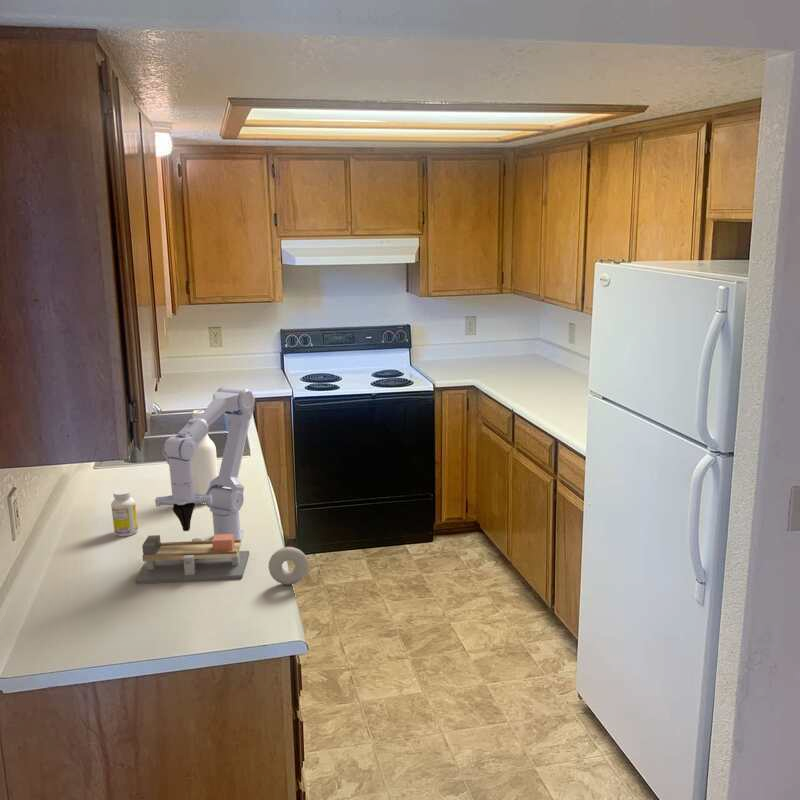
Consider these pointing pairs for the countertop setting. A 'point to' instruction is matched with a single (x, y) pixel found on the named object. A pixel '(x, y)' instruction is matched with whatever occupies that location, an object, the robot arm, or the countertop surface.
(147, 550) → the beam
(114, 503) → the supplement bottle
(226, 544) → the block
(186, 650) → the countertop surface
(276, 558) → the donut
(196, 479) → the alcohol
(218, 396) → the robot arm
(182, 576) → the tilt stand
